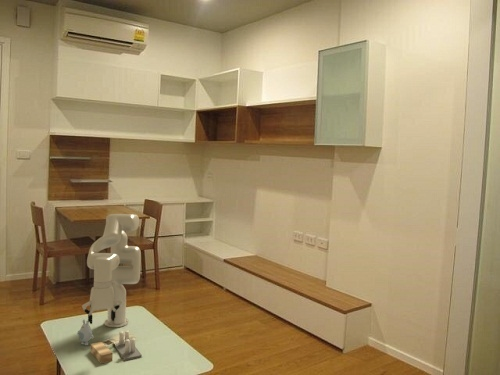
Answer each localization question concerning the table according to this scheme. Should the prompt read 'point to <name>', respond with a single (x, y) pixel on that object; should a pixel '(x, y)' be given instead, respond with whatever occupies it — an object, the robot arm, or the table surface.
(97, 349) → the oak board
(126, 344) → the peg stand
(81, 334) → the toy figure
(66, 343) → the table surface
